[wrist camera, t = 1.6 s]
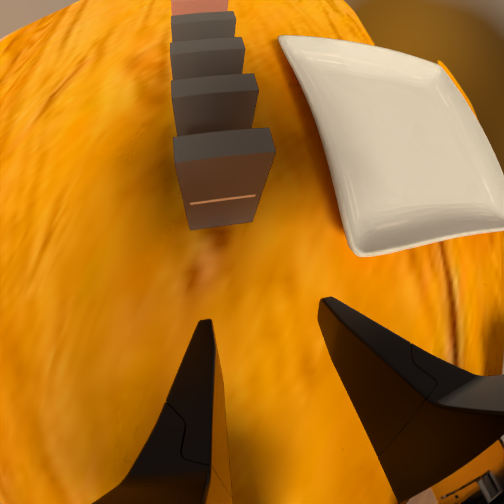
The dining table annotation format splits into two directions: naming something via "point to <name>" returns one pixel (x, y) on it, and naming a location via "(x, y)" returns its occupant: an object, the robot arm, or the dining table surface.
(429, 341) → the dining table surface
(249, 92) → the domino
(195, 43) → the domino
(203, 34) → the domino
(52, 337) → the dining table surface
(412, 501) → the supplement box
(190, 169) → the domino
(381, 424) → the robot arm
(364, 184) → the square plate
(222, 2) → the domino
